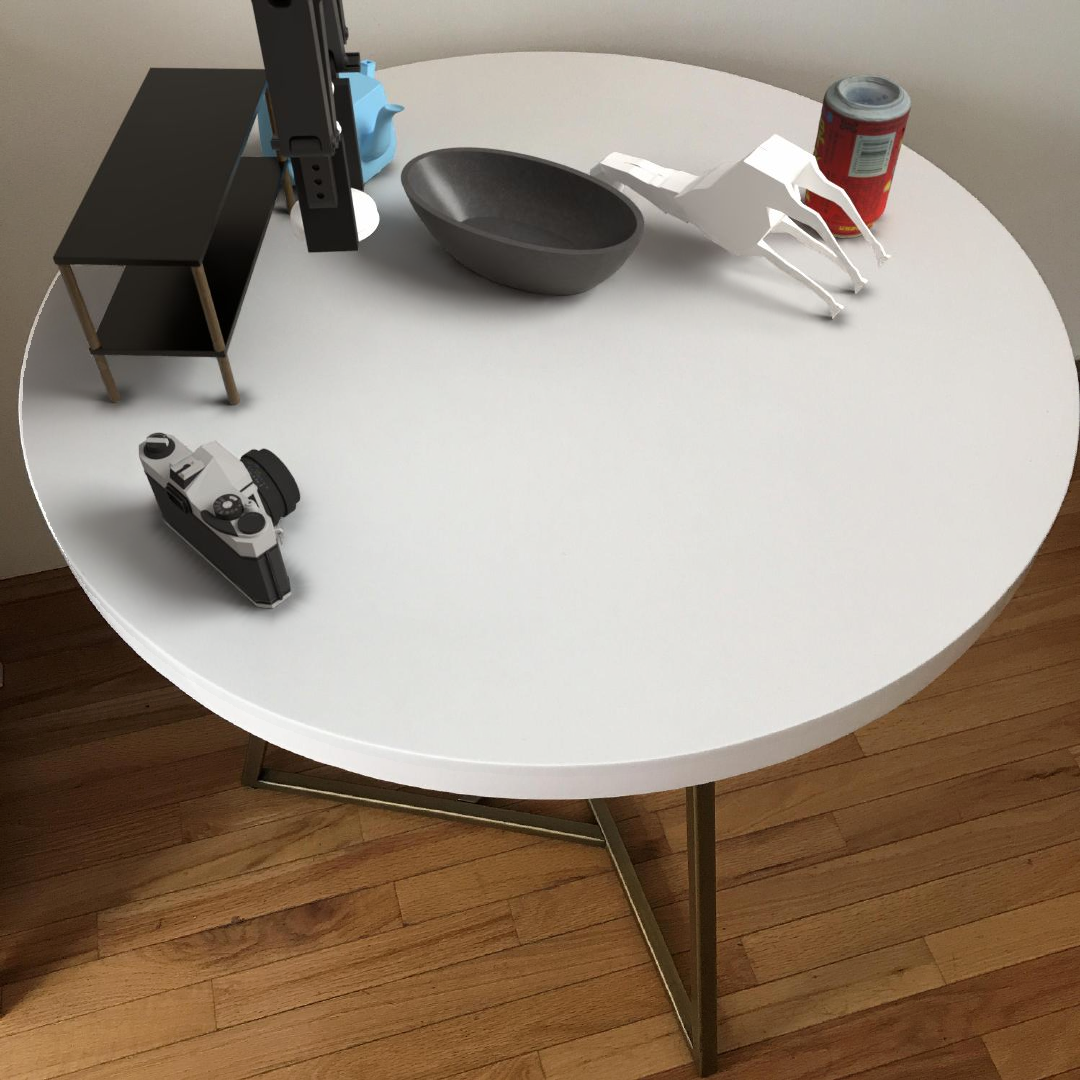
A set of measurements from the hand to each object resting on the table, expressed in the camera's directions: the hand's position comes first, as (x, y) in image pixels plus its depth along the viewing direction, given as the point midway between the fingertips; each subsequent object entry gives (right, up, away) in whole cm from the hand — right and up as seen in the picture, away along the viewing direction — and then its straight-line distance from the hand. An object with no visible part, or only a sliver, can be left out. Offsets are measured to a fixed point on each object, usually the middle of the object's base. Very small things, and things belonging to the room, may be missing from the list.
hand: (336, 217), depth 65 cm
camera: (-9, -18, +15) cm, 25 cm away
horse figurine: (+27, +7, +36) cm, 46 cm away
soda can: (+38, +11, +39) cm, 56 cm away
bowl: (+10, +6, +35) cm, 37 cm away
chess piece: (0, 0, 0) cm, 1 cm away
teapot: (-8, +17, +44) cm, 48 cm away
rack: (-16, +3, +33) cm, 37 cm away
